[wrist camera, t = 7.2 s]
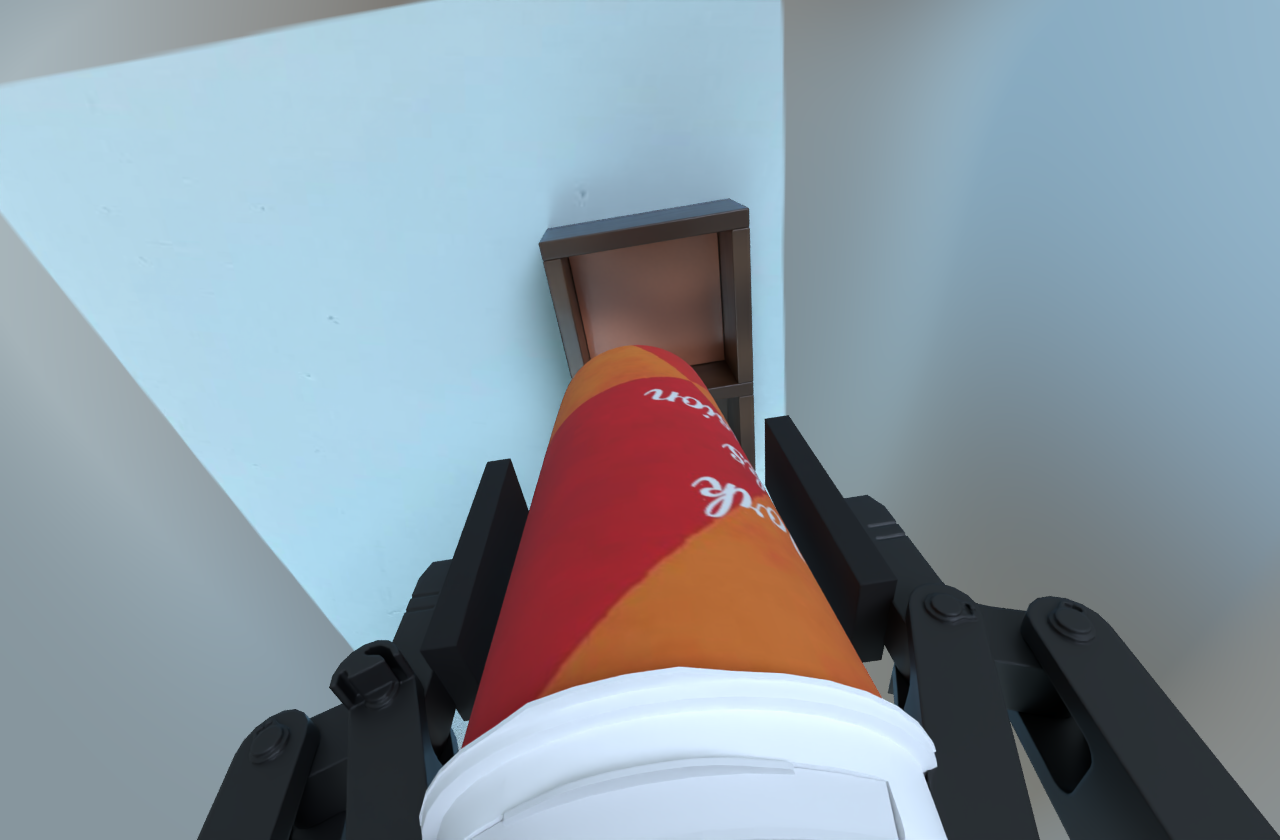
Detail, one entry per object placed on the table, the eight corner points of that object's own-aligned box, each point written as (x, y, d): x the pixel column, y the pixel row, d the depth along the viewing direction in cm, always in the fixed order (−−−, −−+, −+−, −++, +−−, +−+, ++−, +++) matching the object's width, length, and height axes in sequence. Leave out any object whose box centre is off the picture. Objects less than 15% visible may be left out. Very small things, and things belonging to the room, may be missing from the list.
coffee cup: (744, 470, 21) (959, 974, 8) (567, 507, 22) (514, 1041, 9) (722, 287, 17) (1086, 745, 4) (501, 338, 18) (219, 895, 5)
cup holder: (546, 228, 30) (537, 242, 26) (729, 198, 29) (749, 207, 25) (609, 497, 41) (609, 536, 37) (741, 477, 41) (756, 513, 37)
